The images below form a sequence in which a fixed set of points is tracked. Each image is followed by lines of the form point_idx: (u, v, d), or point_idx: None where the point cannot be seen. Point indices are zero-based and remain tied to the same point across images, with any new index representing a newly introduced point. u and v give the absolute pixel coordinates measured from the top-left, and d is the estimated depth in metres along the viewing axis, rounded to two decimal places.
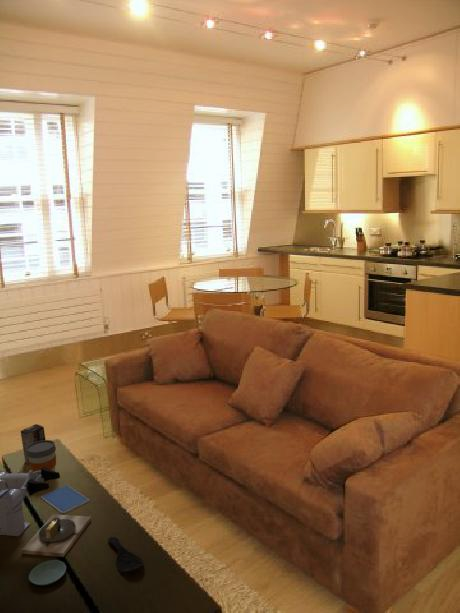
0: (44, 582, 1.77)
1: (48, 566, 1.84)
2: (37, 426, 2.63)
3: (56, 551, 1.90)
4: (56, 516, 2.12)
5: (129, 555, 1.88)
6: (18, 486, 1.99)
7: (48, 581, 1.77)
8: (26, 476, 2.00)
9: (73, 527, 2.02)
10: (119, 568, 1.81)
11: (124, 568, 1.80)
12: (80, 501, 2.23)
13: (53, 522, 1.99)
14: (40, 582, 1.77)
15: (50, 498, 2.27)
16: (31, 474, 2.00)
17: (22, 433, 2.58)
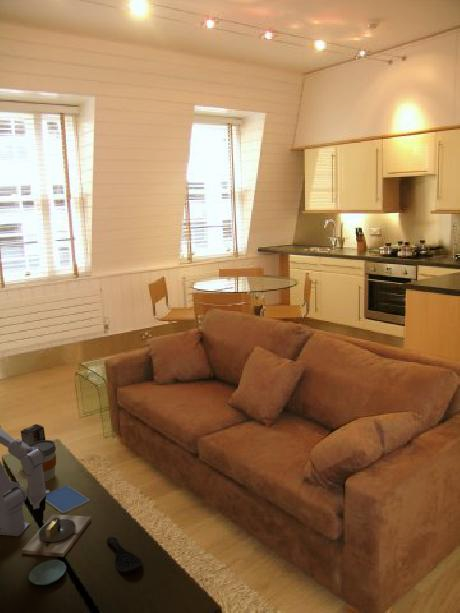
0: (44, 582, 1.77)
1: (49, 566, 1.84)
2: (37, 426, 2.63)
3: (56, 551, 1.90)
4: (56, 516, 2.12)
5: (128, 555, 1.88)
6: (33, 487, 1.93)
7: (48, 581, 1.77)
8: (44, 491, 1.96)
9: (73, 527, 2.02)
10: (118, 568, 1.81)
11: (123, 568, 1.80)
12: (80, 501, 2.23)
13: (53, 522, 1.99)
14: (40, 582, 1.77)
15: (50, 498, 2.27)
16: None
17: (22, 433, 2.58)
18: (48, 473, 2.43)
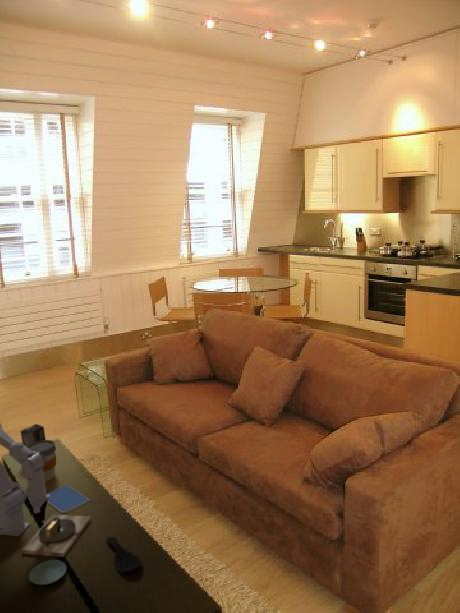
0: (44, 582, 1.77)
1: (49, 566, 1.84)
2: (37, 426, 2.63)
3: (56, 551, 1.90)
4: (56, 516, 2.12)
5: (128, 555, 1.88)
6: (34, 491, 1.94)
7: (48, 581, 1.77)
8: (45, 495, 1.96)
9: (73, 527, 2.02)
10: (117, 568, 1.81)
11: (122, 568, 1.81)
12: (80, 501, 2.23)
13: (53, 522, 1.99)
14: (40, 582, 1.77)
15: (50, 498, 2.27)
16: None
17: (22, 433, 2.58)
18: (48, 473, 2.43)
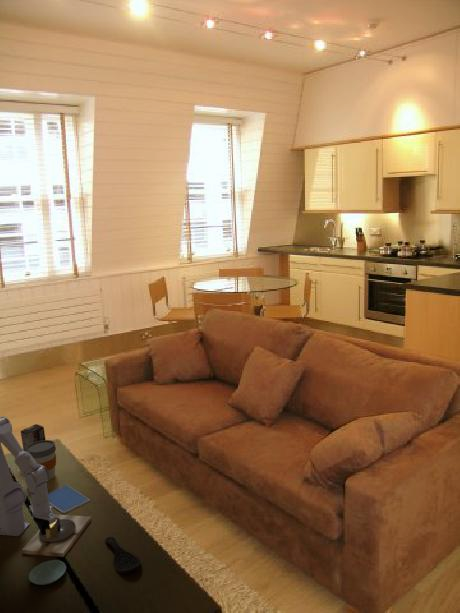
0: (43, 582, 1.77)
1: (49, 566, 1.84)
2: (37, 426, 2.63)
3: (56, 551, 1.90)
4: (56, 516, 2.12)
5: (126, 555, 1.88)
6: (43, 504, 1.93)
7: (47, 581, 1.77)
8: (49, 506, 1.96)
9: (73, 527, 2.02)
10: (117, 568, 1.81)
11: (122, 568, 1.81)
12: (80, 501, 2.23)
13: None
14: (40, 582, 1.77)
15: (50, 498, 2.27)
16: None
17: (22, 433, 2.58)
18: None
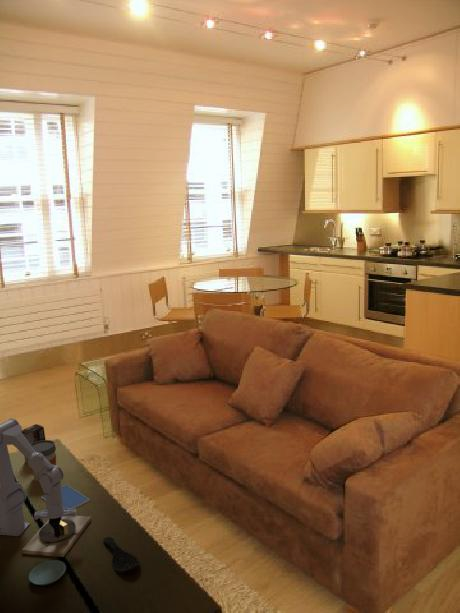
0: (43, 582, 1.77)
1: (50, 566, 1.84)
2: (37, 426, 2.63)
3: (56, 551, 1.90)
4: None
5: (125, 555, 1.88)
6: (61, 502, 1.94)
7: (47, 581, 1.77)
8: None
9: (67, 520, 2.06)
10: (115, 568, 1.81)
11: (120, 568, 1.81)
12: (80, 500, 2.23)
13: None
14: (39, 582, 1.77)
15: None
16: None
17: (22, 433, 2.58)
18: None
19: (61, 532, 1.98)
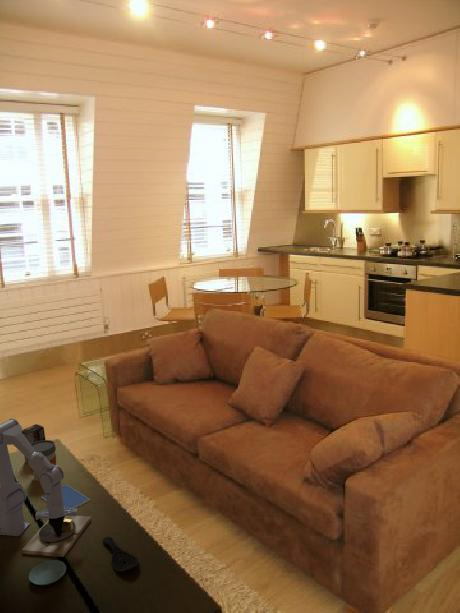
0: (43, 582, 1.77)
1: (50, 566, 1.84)
2: (37, 426, 2.63)
3: (56, 551, 1.90)
4: None
5: (124, 555, 1.88)
6: (62, 502, 1.94)
7: (47, 581, 1.77)
8: None
9: None
10: (115, 568, 1.81)
11: (120, 567, 1.81)
12: (80, 500, 2.24)
13: None
14: (39, 581, 1.77)
15: None
16: None
17: (22, 433, 2.58)
18: None
19: (66, 529, 1.99)
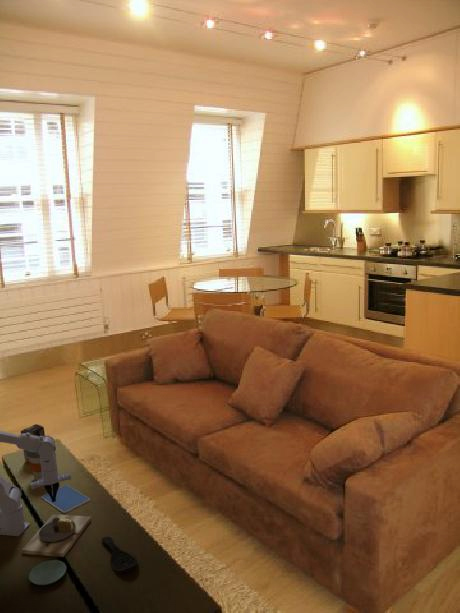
0: (43, 582, 1.77)
1: (51, 566, 1.84)
2: (37, 426, 2.63)
3: (56, 551, 1.90)
4: (56, 516, 2.12)
5: (123, 554, 1.88)
6: None
7: (47, 581, 1.77)
8: None
9: None
10: (114, 567, 1.81)
11: (119, 567, 1.81)
12: (81, 500, 2.24)
13: (60, 520, 2.00)
14: (39, 581, 1.77)
15: (50, 498, 2.27)
16: None
17: (22, 433, 2.58)
18: None
19: (66, 529, 1.99)
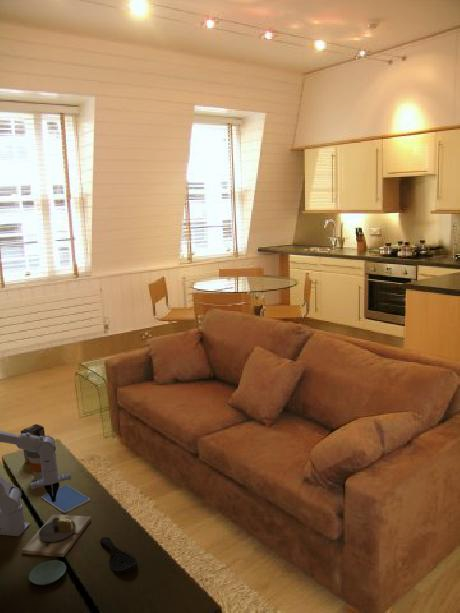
0: (43, 582, 1.77)
1: (51, 566, 1.84)
2: (37, 426, 2.63)
3: (56, 551, 1.90)
4: (56, 516, 2.12)
5: (122, 554, 1.88)
6: None
7: (46, 581, 1.77)
8: None
9: None
10: (113, 568, 1.81)
11: (118, 567, 1.81)
12: (81, 500, 2.24)
13: (60, 520, 2.00)
14: (39, 581, 1.77)
15: None
16: None
17: (22, 433, 2.58)
18: None
19: (66, 529, 1.99)
